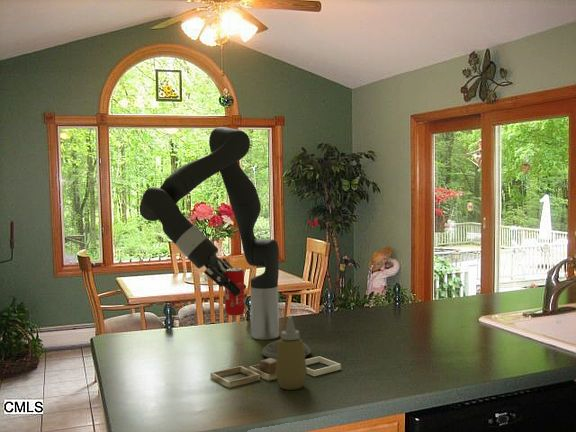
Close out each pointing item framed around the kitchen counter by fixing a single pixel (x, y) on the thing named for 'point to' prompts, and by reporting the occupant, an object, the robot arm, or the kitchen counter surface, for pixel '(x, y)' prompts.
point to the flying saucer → (271, 350)
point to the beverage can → (233, 303)
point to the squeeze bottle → (290, 358)
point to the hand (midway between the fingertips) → (241, 291)
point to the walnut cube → (268, 365)
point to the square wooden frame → (262, 373)
